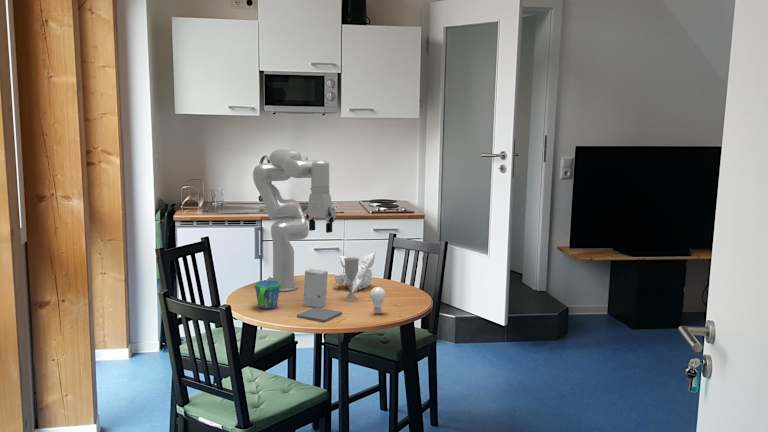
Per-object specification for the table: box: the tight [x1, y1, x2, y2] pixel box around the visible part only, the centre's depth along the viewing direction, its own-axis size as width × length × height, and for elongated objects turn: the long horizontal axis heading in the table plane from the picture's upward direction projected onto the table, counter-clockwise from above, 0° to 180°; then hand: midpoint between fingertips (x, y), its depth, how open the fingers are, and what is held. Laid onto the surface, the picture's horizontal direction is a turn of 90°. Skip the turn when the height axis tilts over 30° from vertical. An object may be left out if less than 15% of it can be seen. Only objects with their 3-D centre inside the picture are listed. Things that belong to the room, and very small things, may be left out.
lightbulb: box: [369, 286, 387, 315], centre depth 268 cm, size 6×6×11 cm
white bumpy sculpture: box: [334, 251, 376, 294], centre depth 310 cm, size 19×20×20 cm
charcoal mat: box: [296, 307, 343, 323], centre depth 264 cm, size 13×13×1 cm
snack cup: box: [253, 279, 281, 310], centre depth 274 cm, size 16×10×10 cm
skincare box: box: [302, 268, 329, 308], centre depth 278 cm, size 8×6×15 cm
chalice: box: [344, 256, 360, 302], centre depth 288 cm, size 7×7×18 cm
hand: (320, 231), depth 278 cm, fingers open, 9 cm apart
